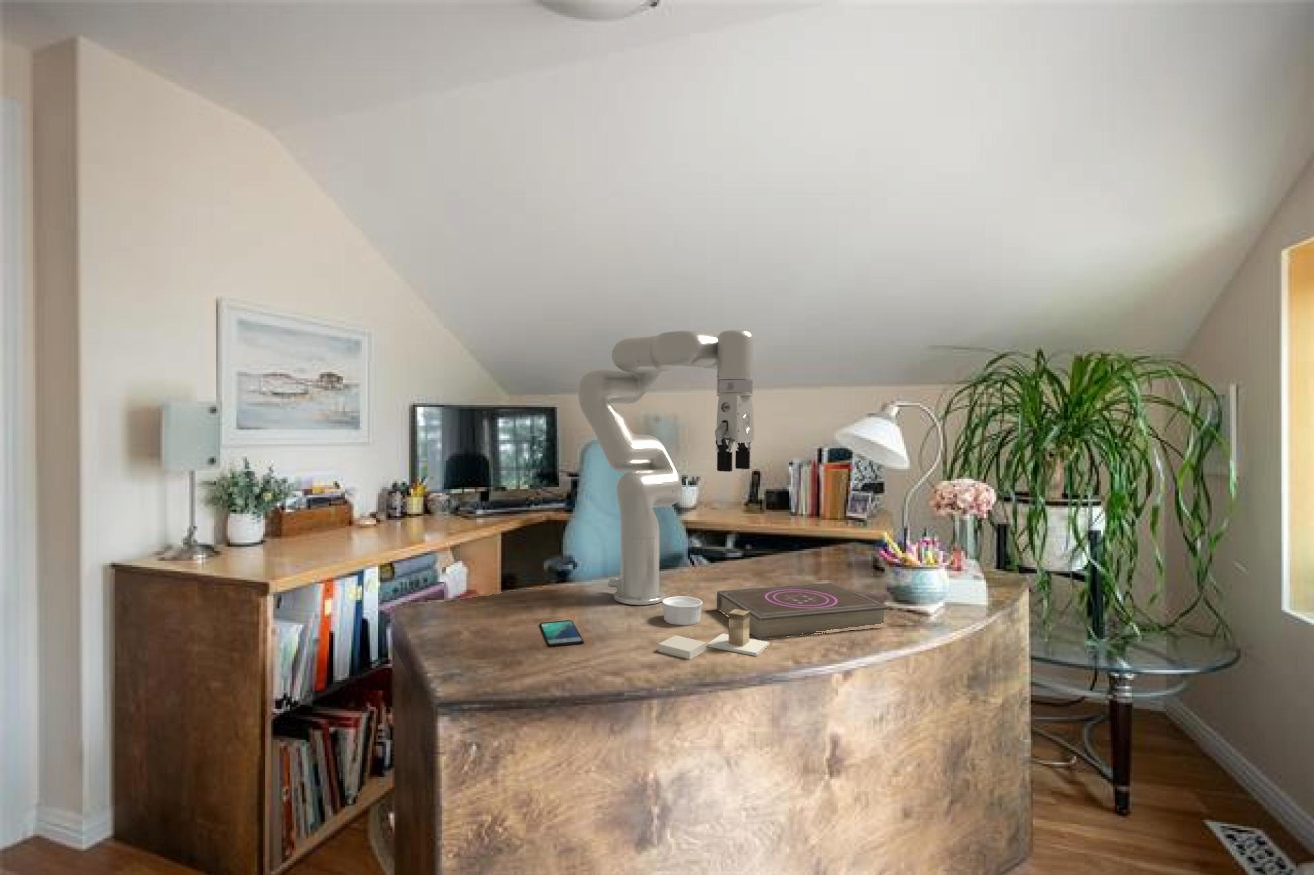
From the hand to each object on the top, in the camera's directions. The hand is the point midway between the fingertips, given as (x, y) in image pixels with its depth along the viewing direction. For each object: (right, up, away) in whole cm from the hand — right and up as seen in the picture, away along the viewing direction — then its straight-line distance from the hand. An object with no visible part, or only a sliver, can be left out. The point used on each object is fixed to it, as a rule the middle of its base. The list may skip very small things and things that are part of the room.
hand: (733, 470), depth 135 cm
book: (+15, -34, +7) cm, 38 cm away
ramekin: (-11, -34, +4) cm, 35 cm away
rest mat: (0, -34, -12) cm, 36 cm away
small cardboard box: (0, -33, -12) cm, 35 cm away
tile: (-14, -33, -13) cm, 38 cm away
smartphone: (-36, -34, -6) cm, 50 cm away
